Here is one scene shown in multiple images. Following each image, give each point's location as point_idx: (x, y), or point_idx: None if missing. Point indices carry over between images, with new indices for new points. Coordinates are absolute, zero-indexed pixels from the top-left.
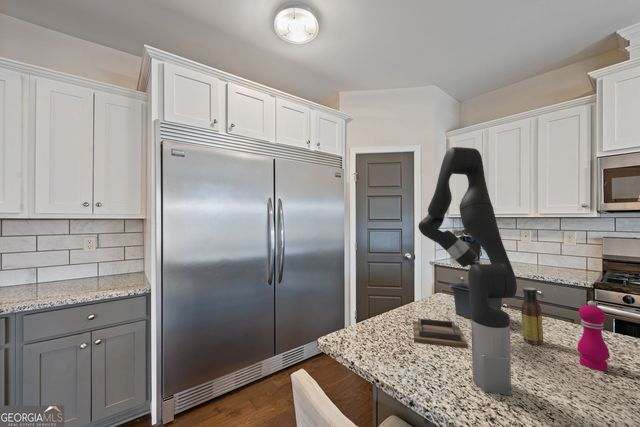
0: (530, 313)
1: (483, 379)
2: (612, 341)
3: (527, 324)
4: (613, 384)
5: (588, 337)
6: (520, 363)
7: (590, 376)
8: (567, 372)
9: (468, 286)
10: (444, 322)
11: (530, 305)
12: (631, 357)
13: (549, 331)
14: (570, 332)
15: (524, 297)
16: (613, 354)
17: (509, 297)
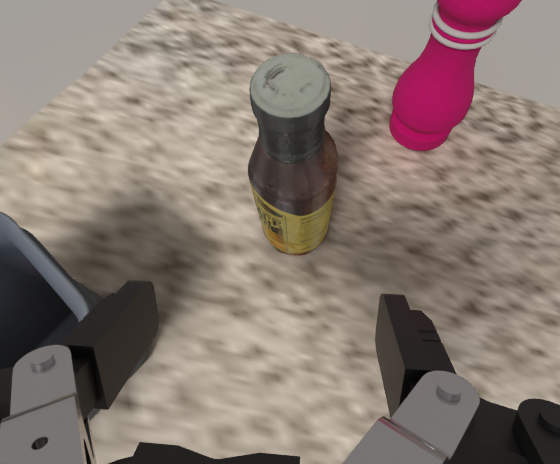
0: (333, 182)
1: None
2: (214, 34)
3: (324, 220)
4: (523, 126)
5: (467, 73)
6: (525, 322)
7: (503, 157)
8: (511, 203)
9: None
10: None
11: (329, 157)
12: (317, 37)
13: (171, 152)
14: (166, 100)
15: (293, 154)
16: None
17: None
